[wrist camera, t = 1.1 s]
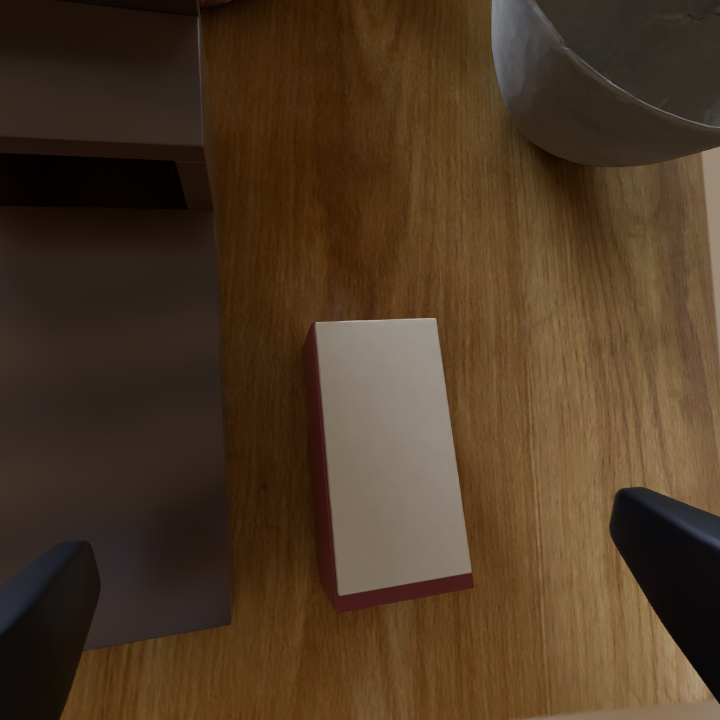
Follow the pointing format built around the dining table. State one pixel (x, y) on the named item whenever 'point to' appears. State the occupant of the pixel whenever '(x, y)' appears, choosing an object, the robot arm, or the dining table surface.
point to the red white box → (383, 463)
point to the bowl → (611, 77)
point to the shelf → (114, 317)
